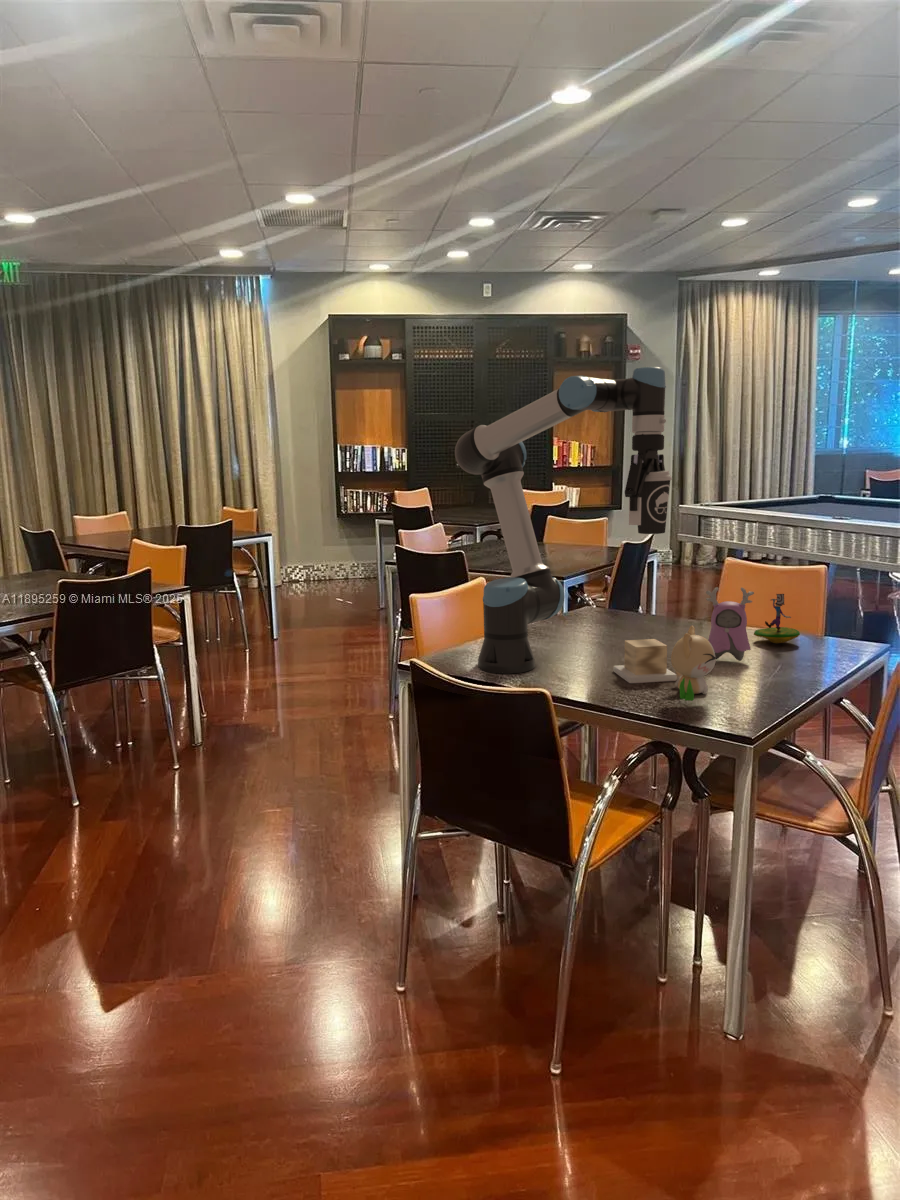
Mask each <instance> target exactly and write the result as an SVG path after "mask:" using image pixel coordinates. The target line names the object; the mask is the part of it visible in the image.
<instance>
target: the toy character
mask: <svg viewBox="0 0 900 1200" xmlns="http://www.w3.org/2000/svg"><path fill="white" fill-rule="evenodd" d="M719 590H720V589H719V587H718V586H716V587H714V588H713V590H712V591H710V590H705V594H706V595H708V596H710V597H709V598H707V597H706V598H705V599H706V601H707V602H712V607H713V611H712V613H711V617H710V625H711V626H710V632H709V635H708V638H707V640H708V641H709V642H710V643H711V645H712V647H713V649H714V651H715V653H716V654H717V656H715V658H716V660H719V659H720V658H721V657H722V656H723V655H725V654H726V653H729V654H730V655H732V656H733V657H734V658H735V659H736V660H737V661H738V662H740V661H742V660H743V658H744V656H745V652H747V651H750V650H752V649H751V645H750V640H749V638H748V632H747V624H748V618H747V617H748V616H747V612H746V610H745V609H746V604H751V603H753V600H751V599H749V597H750V596H753V595H754V594H755V591H748V592H747V590H746V589H745V588H744V587H740V592H741V593H742V599H741V601H740V603H739V602H738V601H737V602H736V601H731V600H729V601H722V602H720V603H719V601H718V600H717V592H718V591H719Z"/></svg>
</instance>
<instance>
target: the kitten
mask: <svg viewBox="0 0 900 1200" xmlns="http://www.w3.org/2000/svg"><path fill="white" fill-rule="evenodd" d="M695 631H696V628H695V626H694V625H690V626H689V629H688V631H687V632H685V633H684V634H683V637H681V638H680V639H678V641H676V643H675V644H674V646H673V648H672V651H671V655H670V656H671V657H670V661H671V666H672V667H673V669H674V671H675V672H674V673H675V674H676V675H677V687H678V689H679V699H681V700H684V701H685V702H686V701H691V702H692V701H694V700H695V695H697V694H702V695H704V696H705V695H707V694H708V690H709V687H708V683H707V681H706V679H705V677H704V676H706V675H708V674H709V673H711V671H712V670H713V669H714V667H715V666H716V665H715V664H716V660H717V659H716V658H715V656H717V654H716V653H715V651H714V649H713V647H712V645H711V643H710V642H709V641H708V638H705V637H704V636H702V635H699V634H698V635H697V634H696V633H695Z"/></svg>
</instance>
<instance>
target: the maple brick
mask: <svg viewBox="0 0 900 1200" xmlns="http://www.w3.org/2000/svg"><path fill="white" fill-rule="evenodd" d="M623 662H624V664H623V665H624V667H625V668H626V669H628V670H629V671H631V672H632V673H633V674H635V675H644V674H661V673H667V669H668V645H667V644H665V643H663V642H662V641H659V640H658V639H656V638H650V639H649V638H647V639H629V640H627V639H626V640H624V659H623Z"/></svg>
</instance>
